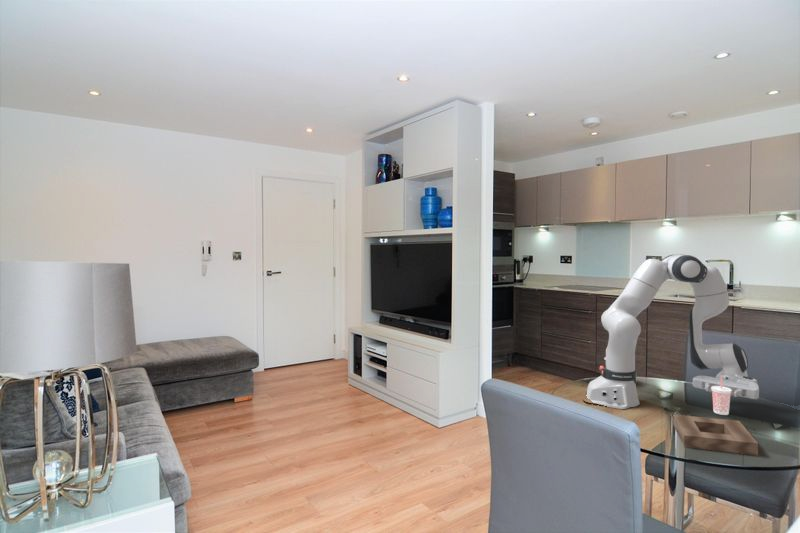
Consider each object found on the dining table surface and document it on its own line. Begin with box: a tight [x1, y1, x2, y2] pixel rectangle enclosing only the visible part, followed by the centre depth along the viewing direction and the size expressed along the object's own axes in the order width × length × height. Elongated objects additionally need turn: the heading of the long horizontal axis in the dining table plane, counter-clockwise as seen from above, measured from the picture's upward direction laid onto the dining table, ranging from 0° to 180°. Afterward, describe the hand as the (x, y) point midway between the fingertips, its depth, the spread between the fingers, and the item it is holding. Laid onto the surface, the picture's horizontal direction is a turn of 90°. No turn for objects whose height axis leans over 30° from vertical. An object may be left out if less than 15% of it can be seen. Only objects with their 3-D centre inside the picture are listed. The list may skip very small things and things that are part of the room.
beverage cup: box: [711, 375, 732, 416], centre depth 161 cm, size 6×6×14 cm
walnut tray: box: [672, 414, 759, 457], centre depth 151 cm, size 20×18×4 cm
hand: (720, 392), depth 161 cm, fingers closed on beverage cup, 6 cm apart
